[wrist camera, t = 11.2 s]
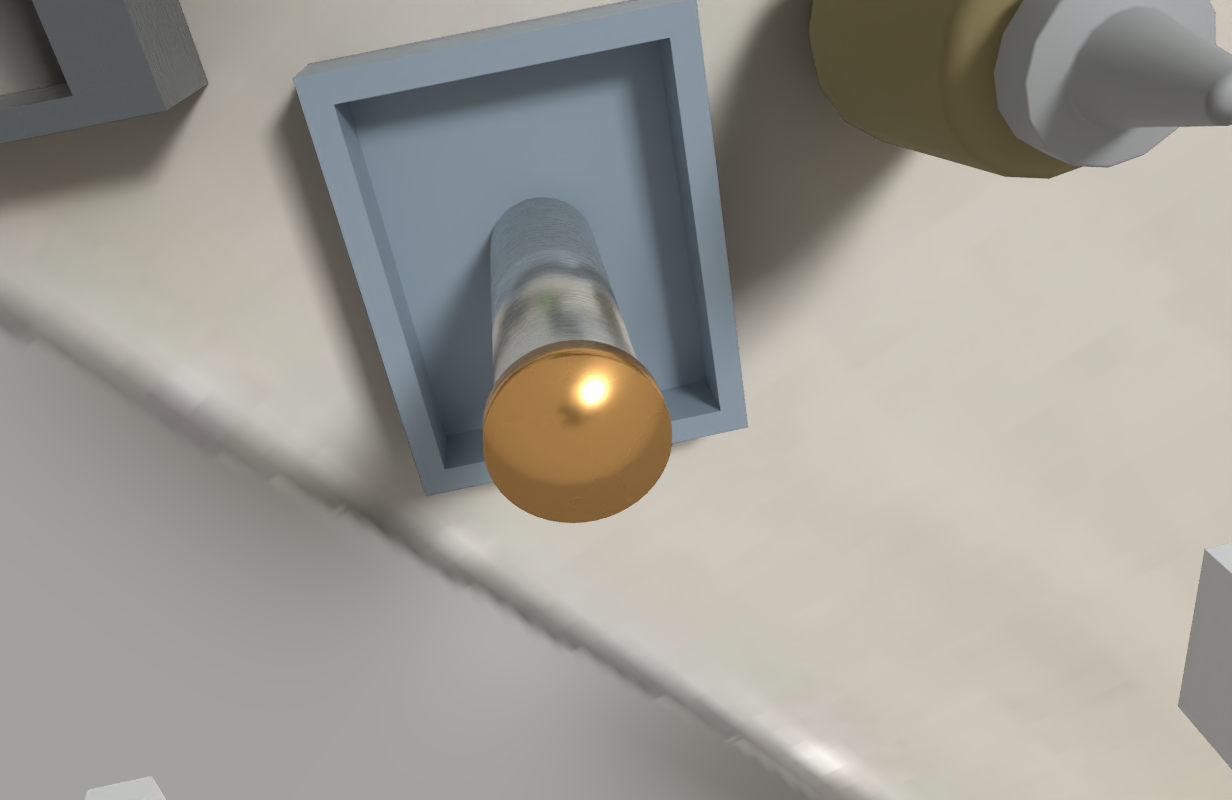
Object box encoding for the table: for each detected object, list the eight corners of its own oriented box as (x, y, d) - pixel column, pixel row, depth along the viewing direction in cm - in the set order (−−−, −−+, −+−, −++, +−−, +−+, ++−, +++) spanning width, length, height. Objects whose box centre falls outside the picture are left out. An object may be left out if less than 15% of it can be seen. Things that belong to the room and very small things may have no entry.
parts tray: (309, 63, 33) (292, 78, 30) (677, -10, 33) (696, -2, 30) (429, 453, 40) (426, 496, 38) (728, 390, 41) (748, 427, 38)
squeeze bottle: (830, 163, 37) (1095, 356, 21) (740, -36, 33) (978, 15, 17) (1022, 51, 36) (1453, 165, 20) (951, -167, 32) (1410, -241, 16)
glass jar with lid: (468, 202, 35) (461, 379, 22) (590, 178, 35) (657, 338, 22) (496, 316, 37) (506, 539, 24) (611, 292, 38) (684, 501, 24)
